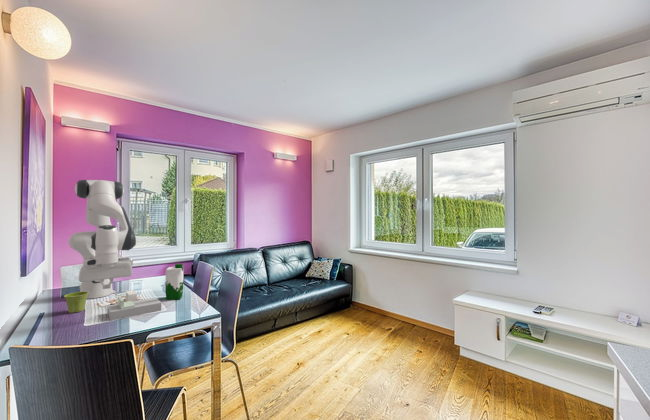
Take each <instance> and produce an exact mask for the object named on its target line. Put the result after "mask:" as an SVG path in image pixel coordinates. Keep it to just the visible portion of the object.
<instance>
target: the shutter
mask: <svg viewBox="0 0 650 420" xmlns="http://www.w3.org/2000/svg"><path fill="white" fill-rule="evenodd" d="M123 299H124V298H123V297H122V296H118V299H117V300H118V303H117V304H118V305H119V307H120V308H121V309H126V308H132V307H135V304H134V303H133V302H132V301H126V302H124V300H123Z"/></svg>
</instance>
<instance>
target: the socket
mask: <svg viewBox="0 0 650 420" xmlns="http://www.w3.org/2000/svg"><path fill="white" fill-rule="evenodd" d="M133 303H134V304H135V307H132V308H126V309H121V308H120V307H119V305H118V303H115V304H112V305H110V304H109V305H107V306H106V307H107V309H106V310H107V311H106V312H107V317H108V319H109V321H110V322H111V321H117V320H121V319H125V318H132V317H135V316H140V315H146V314H150V313H155V312H159V311H160V312H161V311H162V301H160V300H159V299H158V298H157V297H150V298H146V299H145V298H144V299H140V300H139V299H138V301H133Z"/></svg>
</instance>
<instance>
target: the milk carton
mask: <svg viewBox="0 0 650 420" xmlns="http://www.w3.org/2000/svg"><path fill="white" fill-rule="evenodd" d="M164 290H165V299H166V300H165V301H180V300H181V299H182V297H183V293H184V266H183V263H175V264H174V266H169V267H167V268H166V269H165V289H164Z"/></svg>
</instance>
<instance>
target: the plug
mask: <svg viewBox="0 0 650 420" xmlns="http://www.w3.org/2000/svg"><path fill="white" fill-rule="evenodd" d="M125 299H126V301H132V302H133V301H137V300H138V299H137V292H136V291H135V290H134V289H133V290H132V289H131V290H126V291H125Z"/></svg>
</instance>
